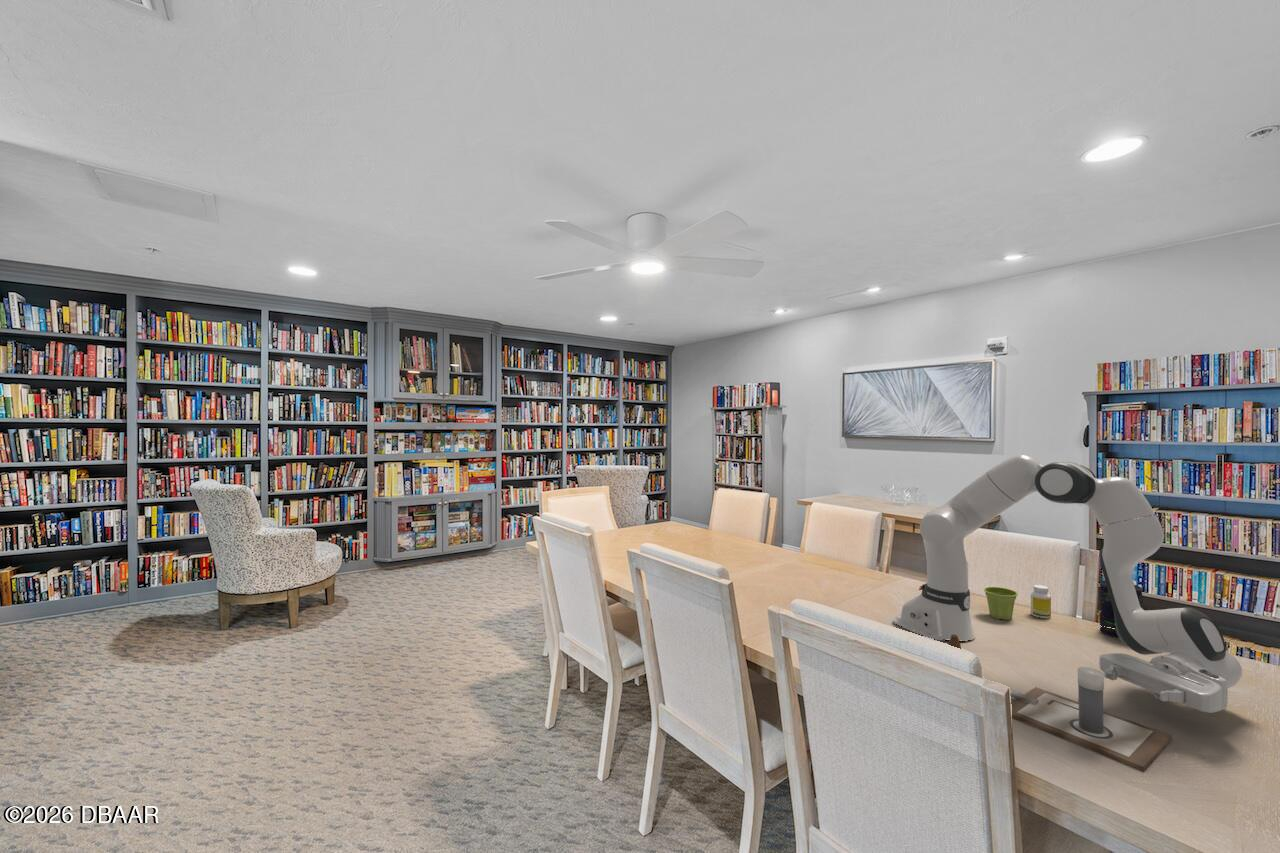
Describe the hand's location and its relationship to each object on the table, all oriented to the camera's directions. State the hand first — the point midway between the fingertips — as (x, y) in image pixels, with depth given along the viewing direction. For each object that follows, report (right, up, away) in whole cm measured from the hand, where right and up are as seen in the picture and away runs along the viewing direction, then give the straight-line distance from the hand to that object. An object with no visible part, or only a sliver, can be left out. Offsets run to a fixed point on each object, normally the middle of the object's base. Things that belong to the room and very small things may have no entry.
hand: (1131, 685), depth 116 cm
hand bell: (-33, -9, +9) cm, 35 cm away
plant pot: (+14, -8, +62) cm, 64 cm away
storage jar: (+40, -8, +47) cm, 63 cm away
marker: (-12, -8, -3) cm, 14 cm away
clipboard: (-11, -8, 0) cm, 14 cm away
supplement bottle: (+28, -8, +63) cm, 69 cm away
